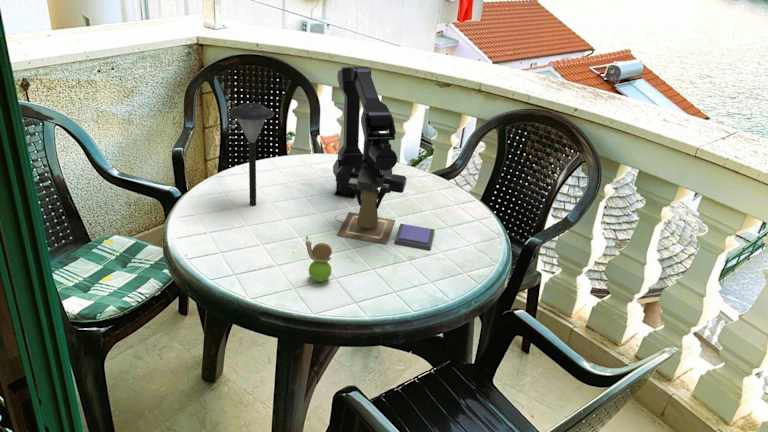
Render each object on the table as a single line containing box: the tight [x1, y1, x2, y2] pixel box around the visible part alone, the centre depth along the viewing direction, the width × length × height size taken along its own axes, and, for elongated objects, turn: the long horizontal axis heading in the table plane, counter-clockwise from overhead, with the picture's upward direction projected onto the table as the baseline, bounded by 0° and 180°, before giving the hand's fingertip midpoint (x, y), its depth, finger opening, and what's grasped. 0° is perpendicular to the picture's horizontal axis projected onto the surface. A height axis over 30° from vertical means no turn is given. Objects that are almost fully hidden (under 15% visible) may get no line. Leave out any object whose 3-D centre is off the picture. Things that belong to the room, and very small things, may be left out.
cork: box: [357, 188, 380, 228], centre depth 161 cm, size 6×6×11 cm
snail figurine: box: [305, 235, 333, 283], centre depth 137 cm, size 5×6×12 cm
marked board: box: [336, 211, 396, 245], centre depth 164 cm, size 14×14×1 cm
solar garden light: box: [228, 102, 275, 207], centre depth 163 cm, size 12×12×30 cm
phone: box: [382, 168, 393, 178], centre depth 198 cm, size 7×1×15 cm
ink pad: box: [393, 223, 436, 251], centre depth 161 cm, size 10×10×2 cm
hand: (368, 206), depth 161 cm, fingers closed on cork, 5 cm apart
